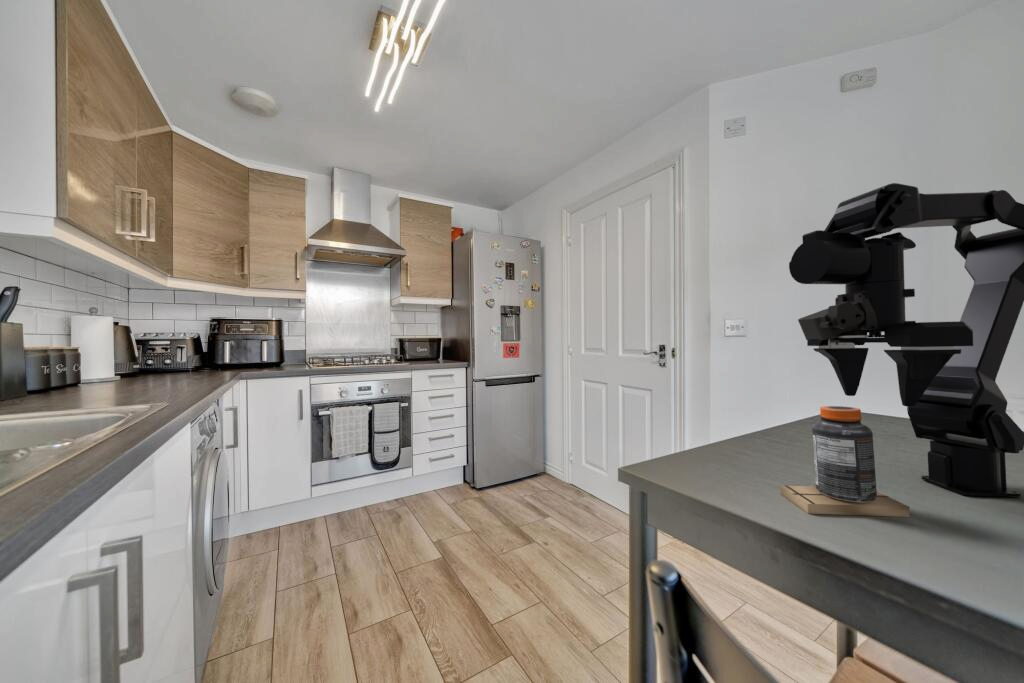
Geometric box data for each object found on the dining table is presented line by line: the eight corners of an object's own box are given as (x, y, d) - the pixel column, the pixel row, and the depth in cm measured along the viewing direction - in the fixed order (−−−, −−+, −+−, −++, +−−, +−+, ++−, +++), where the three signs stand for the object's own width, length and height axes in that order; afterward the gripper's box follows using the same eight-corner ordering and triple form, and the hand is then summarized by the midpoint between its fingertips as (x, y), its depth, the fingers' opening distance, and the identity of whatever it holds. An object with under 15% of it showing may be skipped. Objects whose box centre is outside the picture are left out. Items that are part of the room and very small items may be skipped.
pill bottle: (851, 486, 51) (847, 403, 51) (891, 504, 45) (885, 410, 45) (804, 486, 52) (800, 404, 52) (837, 503, 46) (832, 411, 46)
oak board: (869, 496, 50) (869, 487, 50) (909, 516, 45) (909, 506, 45) (780, 494, 52) (780, 485, 52) (808, 513, 46) (807, 503, 46)
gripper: (770, 295, 61) (772, 391, 60) (863, 274, 42) (867, 413, 42) (846, 293, 59) (848, 391, 59) (976, 270, 41) (981, 413, 41)
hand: (876, 400), depth 50 cm, fingers open, 9 cm apart
